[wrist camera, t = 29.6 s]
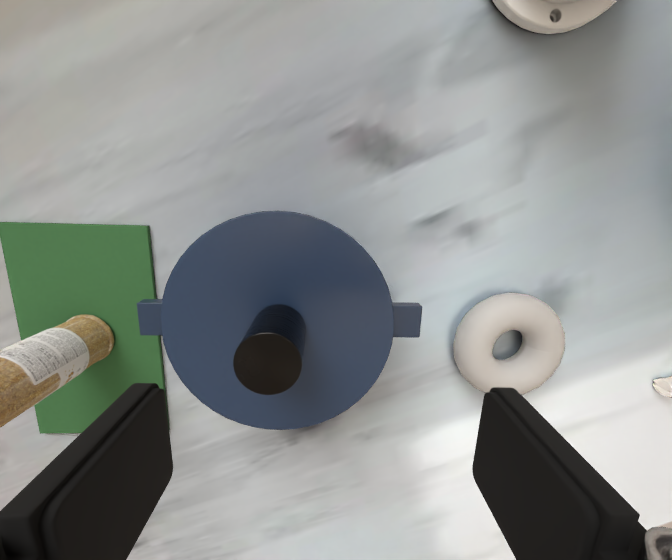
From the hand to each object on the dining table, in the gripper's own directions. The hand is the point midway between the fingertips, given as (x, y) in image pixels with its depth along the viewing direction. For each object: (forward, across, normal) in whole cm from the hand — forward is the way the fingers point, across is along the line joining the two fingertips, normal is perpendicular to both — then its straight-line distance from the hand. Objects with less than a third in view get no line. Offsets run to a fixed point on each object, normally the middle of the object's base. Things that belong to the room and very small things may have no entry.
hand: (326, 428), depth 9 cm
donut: (+21, -17, +6) cm, 27 cm away
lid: (+13, +3, +2) cm, 13 cm away
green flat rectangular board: (+20, +21, +6) cm, 30 cm away
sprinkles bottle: (+20, +21, +6) cm, 30 cm away
